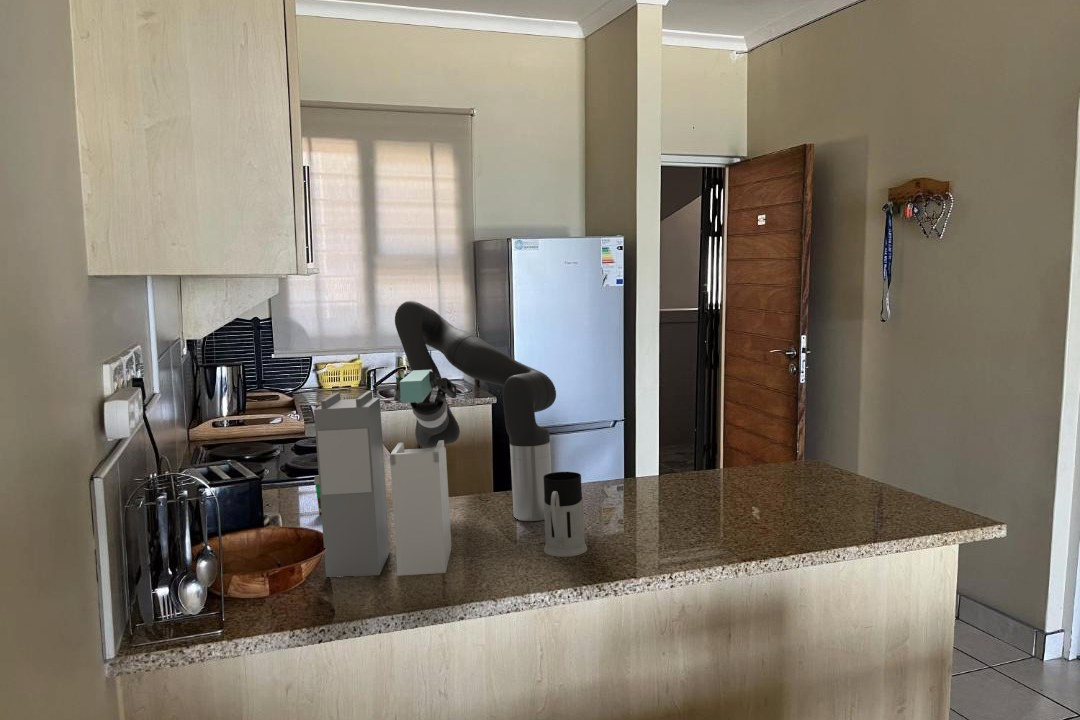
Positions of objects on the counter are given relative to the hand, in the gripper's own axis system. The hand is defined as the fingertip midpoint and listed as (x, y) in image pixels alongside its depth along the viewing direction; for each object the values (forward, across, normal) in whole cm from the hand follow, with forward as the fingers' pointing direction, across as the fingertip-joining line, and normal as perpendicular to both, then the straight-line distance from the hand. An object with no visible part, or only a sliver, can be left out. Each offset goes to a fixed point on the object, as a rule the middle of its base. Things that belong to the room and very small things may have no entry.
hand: (419, 375), depth 165 cm
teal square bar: (+2, 0, +5) cm, 6 cm away
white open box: (-10, 0, +36) cm, 37 cm away
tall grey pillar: (-10, -13, +36) cm, 39 cm away
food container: (-48, -26, +14) cm, 56 cm away
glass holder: (-9, +27, +36) cm, 46 cm away
